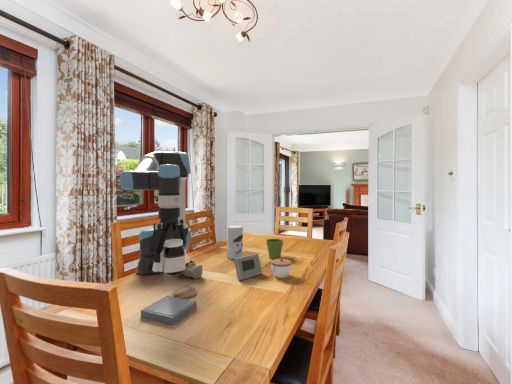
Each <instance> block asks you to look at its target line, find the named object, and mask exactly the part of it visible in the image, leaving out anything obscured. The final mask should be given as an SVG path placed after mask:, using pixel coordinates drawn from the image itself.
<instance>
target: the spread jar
mask: <svg viewBox="0 0 512 384" xmlns="http://www.w3.org/2000/svg"><path fill="white" fill-rule="evenodd" d="M185 263H186V250H184V247H183V240H182V239H169V240H166V241H165V243H164V247H163V270H164V272H163V274H164V275H165V276H169V277H173V276H177V275H180V274H182V273H183V272H185V268H186V265H185ZM152 271H154V272H157V271H156V263H155V261H154V264H153V268H152Z"/></svg>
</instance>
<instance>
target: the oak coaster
mask: <svg viewBox="0 0 512 384" xmlns="http://www.w3.org/2000/svg"><path fill="white" fill-rule="evenodd" d="M197 294H198V290H197V289H196V288H194V287H187V286H185V287H180V288H177V289H175V290H173V291H172V297H177V298H182V299H187V300H188V299H191V298H193V297H195V296H196V295H197Z"/></svg>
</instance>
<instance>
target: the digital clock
mask: <svg viewBox="0 0 512 384" xmlns="http://www.w3.org/2000/svg"><path fill="white" fill-rule="evenodd" d="M260 259H261V258H260V256H259V253H258V252H257V253H250V254H246V255H243V256H241V257H238V258H235V259H233V263H234V266H235V267H234V268H235V271H236V277H237V279H238V281H242V280H246V279H251V278H254V277H257V276H258V275H262V274H263V268H262V264H261V260H260Z"/></svg>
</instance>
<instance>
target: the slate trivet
mask: <svg viewBox="0 0 512 384" xmlns="http://www.w3.org/2000/svg"><path fill="white" fill-rule="evenodd" d="M195 309H197V301H196V300H191V299H188V298H187V299H182V298H177V297H173V295H172V296H171V295H165V296H164V297H162V298H160V299H159V300H156V301H155V302H152V303H151V304H150V305H148V306H146V307H144V308H142V309H141V310H140V317H141V318H142V319H147V320H150V321H154V322H159V323H164V324H166V325H170V326H174V325H175V324H177V323H178V322H179V321H180V320H182V319H184V318H185V317H187V315H189V314H190V313H192V311H194V310H195Z"/></svg>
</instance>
